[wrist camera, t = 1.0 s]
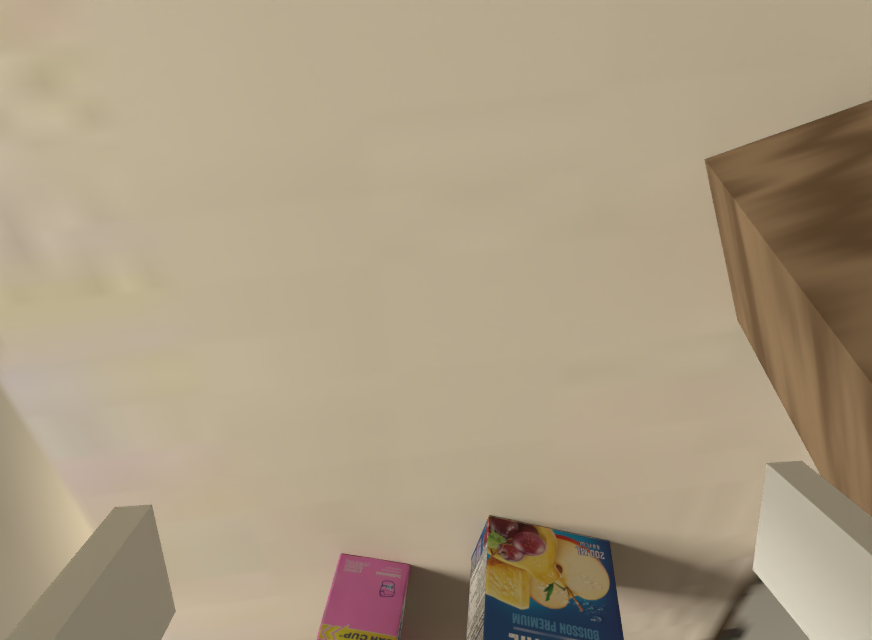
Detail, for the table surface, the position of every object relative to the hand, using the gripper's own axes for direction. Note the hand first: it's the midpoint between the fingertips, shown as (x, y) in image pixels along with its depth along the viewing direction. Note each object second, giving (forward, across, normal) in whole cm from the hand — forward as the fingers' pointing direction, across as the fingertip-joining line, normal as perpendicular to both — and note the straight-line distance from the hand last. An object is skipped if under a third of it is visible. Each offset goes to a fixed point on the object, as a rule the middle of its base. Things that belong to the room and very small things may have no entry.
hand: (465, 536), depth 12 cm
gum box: (+45, -9, -44) cm, 63 cm away
